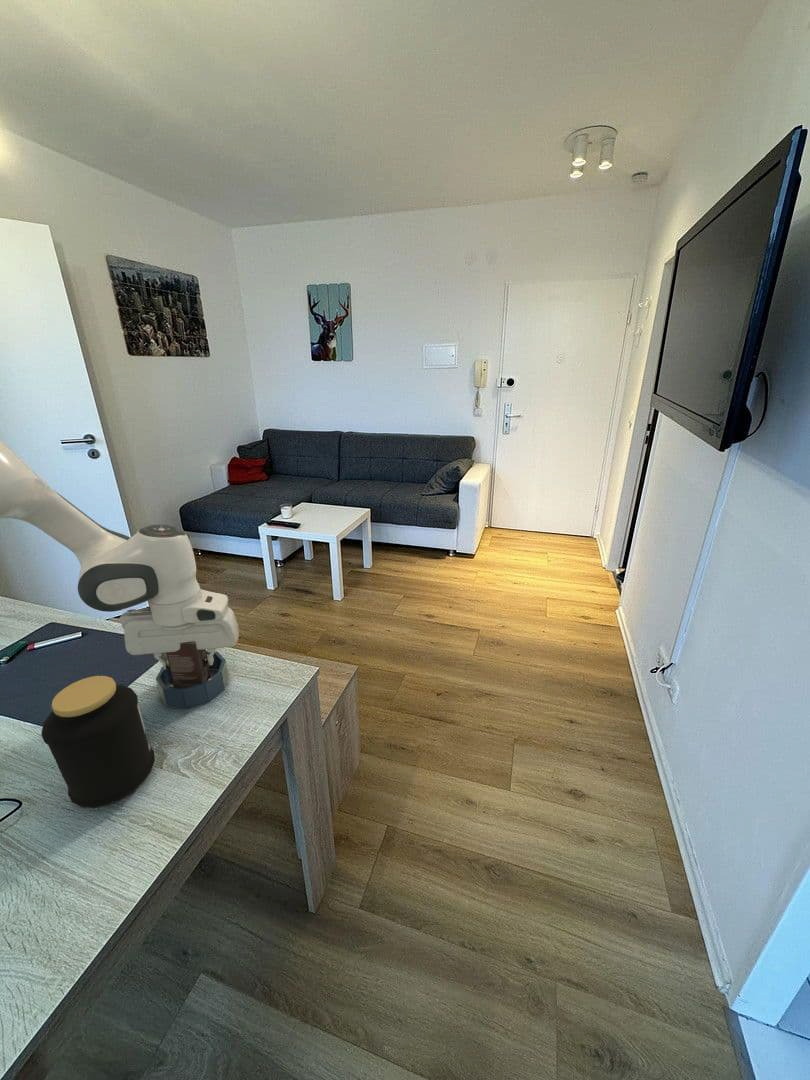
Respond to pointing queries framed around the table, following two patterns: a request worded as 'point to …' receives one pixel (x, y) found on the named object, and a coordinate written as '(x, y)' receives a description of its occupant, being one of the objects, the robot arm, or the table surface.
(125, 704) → the container
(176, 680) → the box
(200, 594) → the robot arm
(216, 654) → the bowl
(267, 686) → the table surface
